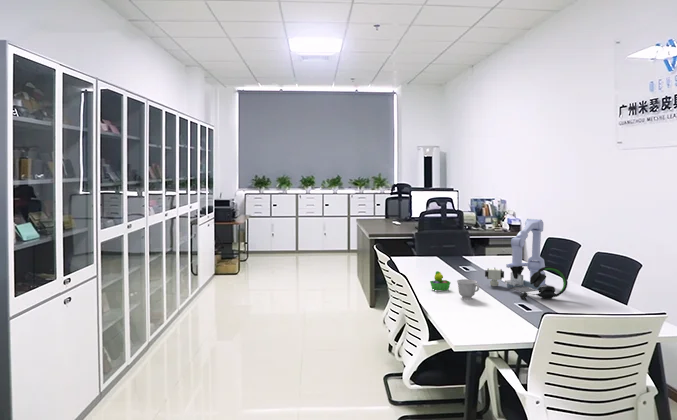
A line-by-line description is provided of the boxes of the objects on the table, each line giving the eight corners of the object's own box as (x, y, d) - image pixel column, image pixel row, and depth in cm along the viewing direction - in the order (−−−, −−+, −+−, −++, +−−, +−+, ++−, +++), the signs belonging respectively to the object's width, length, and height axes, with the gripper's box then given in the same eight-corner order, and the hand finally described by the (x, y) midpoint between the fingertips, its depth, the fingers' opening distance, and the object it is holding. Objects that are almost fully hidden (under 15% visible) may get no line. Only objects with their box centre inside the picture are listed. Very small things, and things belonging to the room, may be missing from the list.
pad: (523, 286, 315) (523, 286, 315) (536, 290, 303) (536, 290, 303) (509, 287, 311) (509, 287, 311) (522, 292, 300) (522, 291, 300)
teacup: (471, 302, 276) (471, 285, 275) (452, 297, 288) (452, 280, 288) (485, 299, 282) (485, 283, 281) (466, 294, 295) (466, 278, 294)
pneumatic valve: (503, 287, 314) (504, 268, 313) (484, 285, 317) (485, 267, 316) (503, 285, 319) (504, 267, 318) (485, 284, 323) (485, 266, 322)
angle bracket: (523, 284, 297) (523, 275, 297) (515, 286, 295) (515, 276, 295) (512, 281, 307) (512, 272, 306) (504, 282, 305) (504, 273, 304)
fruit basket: (434, 291, 303) (434, 273, 302) (428, 288, 312) (428, 271, 311) (451, 290, 305) (451, 272, 304) (445, 287, 314) (445, 270, 313)
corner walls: (524, 285, 318) (524, 280, 318) (540, 290, 304) (541, 285, 304) (506, 287, 314) (506, 281, 314) (522, 292, 300) (522, 286, 299)
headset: (528, 312, 286) (571, 289, 286) (531, 308, 274) (577, 284, 274) (510, 286, 293) (552, 263, 293) (513, 281, 281) (557, 257, 281)
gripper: (511, 258, 294) (511, 280, 295) (531, 257, 299) (530, 278, 300) (504, 256, 301) (503, 278, 302) (523, 255, 306) (523, 276, 307)
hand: (516, 278), depth 302 cm, fingers closed on angle bracket
